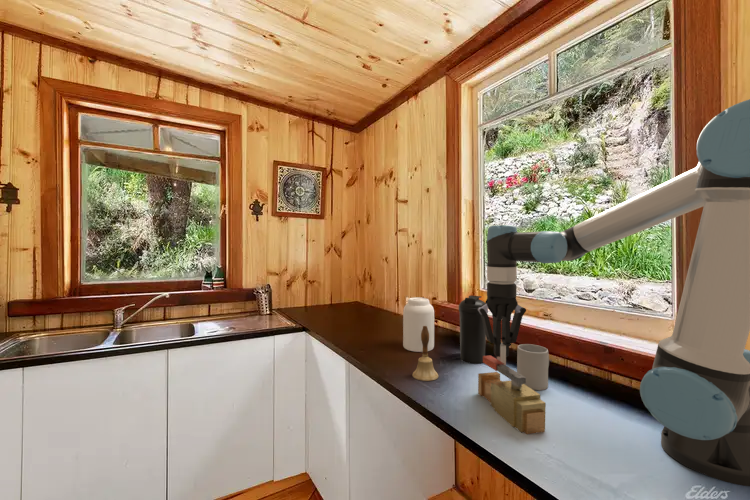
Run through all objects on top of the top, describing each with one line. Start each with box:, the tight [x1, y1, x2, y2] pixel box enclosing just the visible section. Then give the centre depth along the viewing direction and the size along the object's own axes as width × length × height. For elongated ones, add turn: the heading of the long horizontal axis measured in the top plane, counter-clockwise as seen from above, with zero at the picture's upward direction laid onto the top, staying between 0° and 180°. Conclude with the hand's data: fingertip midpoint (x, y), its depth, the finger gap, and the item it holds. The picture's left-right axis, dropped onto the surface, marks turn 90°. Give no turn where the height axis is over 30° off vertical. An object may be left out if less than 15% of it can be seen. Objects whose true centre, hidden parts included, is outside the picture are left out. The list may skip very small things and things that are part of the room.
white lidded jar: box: [402, 297, 435, 353], centre depth 133 cm, size 12×12×20 cm
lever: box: [482, 355, 526, 391], centre depth 86 cm, size 15×2×4 cm, turn 13°
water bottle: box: [458, 295, 487, 365], centre depth 119 cm, size 10×10×23 cm
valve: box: [477, 371, 547, 435], centre depth 84 cm, size 20×7×7 cm, turn 12°
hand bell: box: [411, 326, 439, 382], centre depth 105 cm, size 8×8×16 cm
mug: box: [516, 343, 550, 391], centre depth 100 cm, size 12×8×11 cm
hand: (501, 367), depth 90 cm, fingers closed
